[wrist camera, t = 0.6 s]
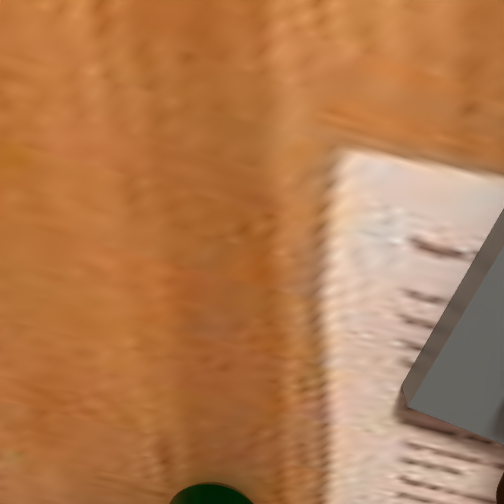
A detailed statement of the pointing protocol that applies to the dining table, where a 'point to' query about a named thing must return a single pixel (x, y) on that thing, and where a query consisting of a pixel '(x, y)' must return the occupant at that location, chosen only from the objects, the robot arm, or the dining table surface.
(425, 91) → the dining table surface
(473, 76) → the dining table surface
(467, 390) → the switch board
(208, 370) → the dining table surface
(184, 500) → the soda can
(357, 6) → the dining table surface
